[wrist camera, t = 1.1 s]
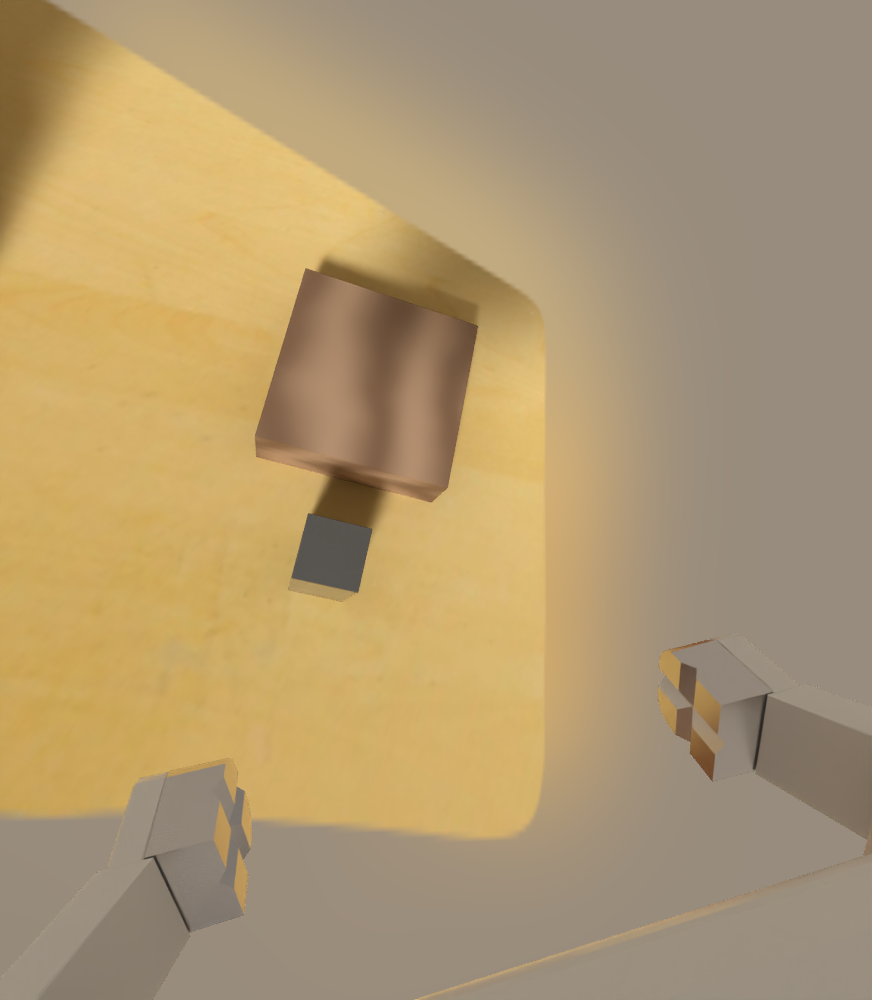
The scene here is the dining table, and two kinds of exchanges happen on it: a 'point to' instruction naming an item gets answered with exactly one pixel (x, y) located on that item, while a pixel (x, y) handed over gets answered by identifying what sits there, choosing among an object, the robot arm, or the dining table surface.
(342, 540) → the grey tin
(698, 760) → the robot arm
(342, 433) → the walnut block
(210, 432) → the dining table surface
